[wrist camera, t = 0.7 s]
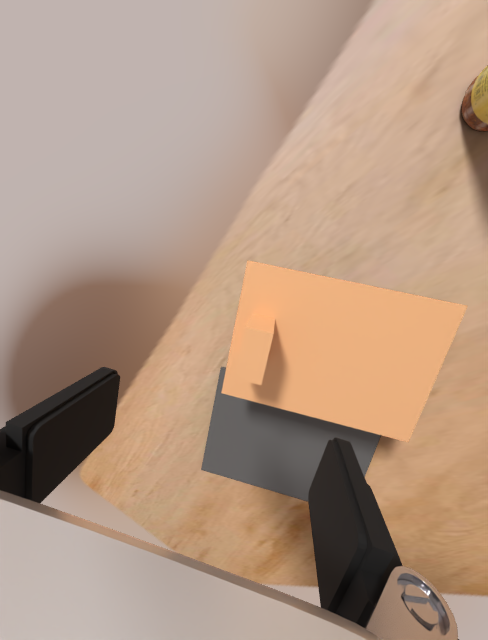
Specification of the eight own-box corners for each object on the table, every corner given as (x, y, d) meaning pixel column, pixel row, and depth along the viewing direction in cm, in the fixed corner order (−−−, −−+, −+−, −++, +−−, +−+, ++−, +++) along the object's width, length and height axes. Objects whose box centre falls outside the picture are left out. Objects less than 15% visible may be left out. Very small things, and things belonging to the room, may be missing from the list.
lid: (450, 302, 26) (528, 319, 18) (398, 428, 30) (442, 489, 22) (250, 260, 28) (237, 258, 20) (225, 383, 32) (206, 424, 24)
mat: (389, 409, 36) (390, 411, 36) (348, 510, 41) (349, 513, 41) (221, 366, 39) (220, 368, 38) (202, 467, 44) (201, 469, 43)
